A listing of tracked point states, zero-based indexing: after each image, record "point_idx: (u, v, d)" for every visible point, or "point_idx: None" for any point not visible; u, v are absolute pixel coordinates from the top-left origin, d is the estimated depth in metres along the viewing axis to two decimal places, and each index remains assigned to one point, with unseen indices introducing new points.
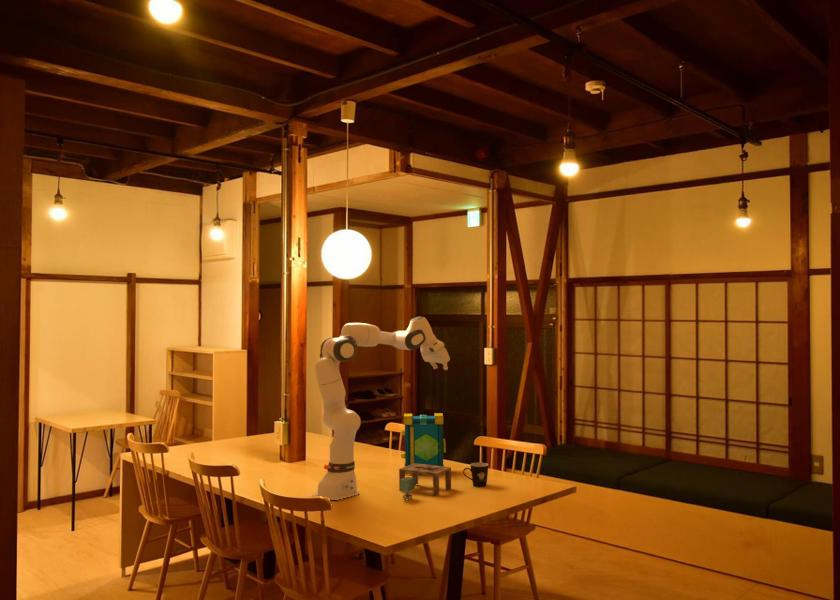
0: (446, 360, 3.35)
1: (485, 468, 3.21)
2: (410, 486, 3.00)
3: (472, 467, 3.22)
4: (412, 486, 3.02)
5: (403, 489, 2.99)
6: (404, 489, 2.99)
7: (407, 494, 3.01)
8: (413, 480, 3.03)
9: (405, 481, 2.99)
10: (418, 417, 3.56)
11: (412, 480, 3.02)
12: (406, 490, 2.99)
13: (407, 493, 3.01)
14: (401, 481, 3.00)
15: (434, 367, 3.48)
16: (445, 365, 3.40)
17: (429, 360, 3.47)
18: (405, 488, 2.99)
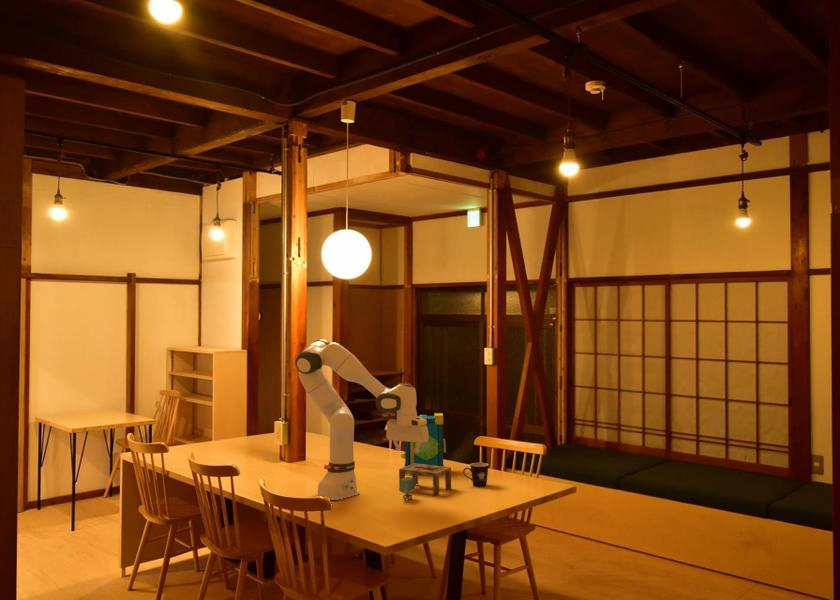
0: (425, 440, 2.97)
1: (485, 468, 3.21)
2: (410, 486, 3.00)
3: (472, 467, 3.22)
4: (412, 486, 3.02)
5: (403, 489, 2.99)
6: (404, 489, 2.99)
7: (407, 494, 3.01)
8: (413, 480, 3.03)
9: (405, 481, 2.99)
10: None
11: (412, 480, 3.02)
12: (406, 490, 2.99)
13: (407, 493, 3.01)
14: (401, 481, 3.00)
15: (397, 448, 3.04)
16: (418, 446, 2.99)
17: (397, 438, 3.03)
18: (405, 488, 2.99)
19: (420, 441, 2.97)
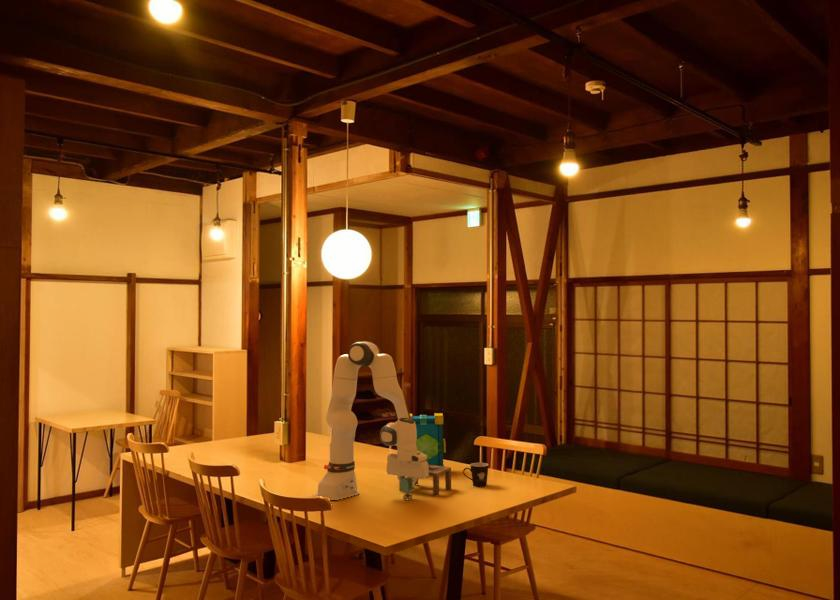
0: (426, 475, 2.96)
1: (485, 468, 3.21)
2: None
3: (472, 467, 3.22)
4: None
5: (403, 489, 2.99)
6: (404, 489, 2.99)
7: (407, 494, 3.01)
8: None
9: (405, 481, 2.99)
10: (418, 417, 3.56)
11: (412, 480, 3.02)
12: (406, 490, 2.99)
13: (407, 493, 3.01)
14: (401, 481, 3.00)
15: None
16: (414, 481, 3.00)
17: (397, 473, 3.03)
18: (405, 488, 2.99)
19: (420, 477, 2.97)
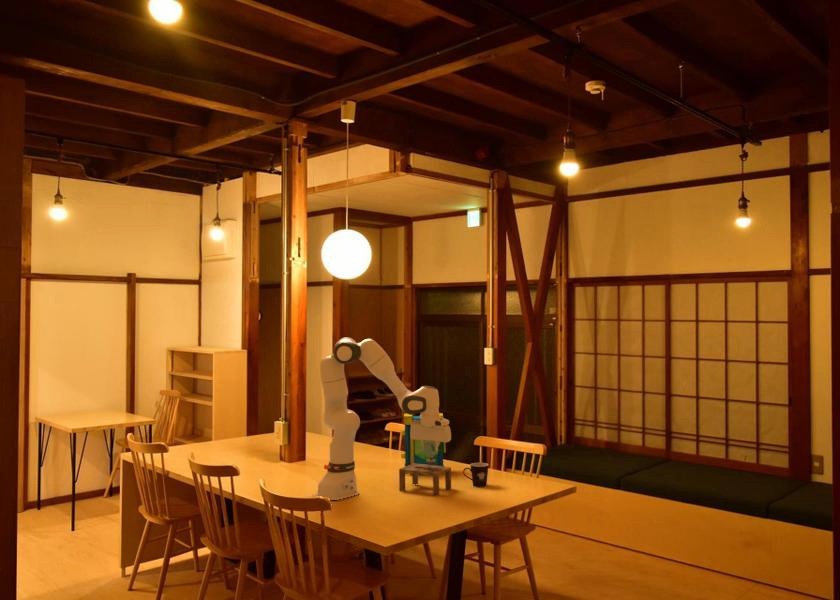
0: (448, 439, 3.11)
1: (485, 468, 3.21)
2: (433, 449, 3.15)
3: (472, 467, 3.22)
4: None
5: (427, 453, 3.14)
6: (428, 452, 3.14)
7: (430, 457, 3.16)
8: None
9: (429, 445, 3.14)
10: (418, 417, 3.56)
11: (435, 444, 3.17)
12: (430, 453, 3.14)
13: (430, 456, 3.16)
14: (425, 445, 3.15)
15: None
16: (437, 445, 3.15)
17: (420, 437, 3.17)
18: (429, 452, 3.14)
19: (443, 440, 3.12)
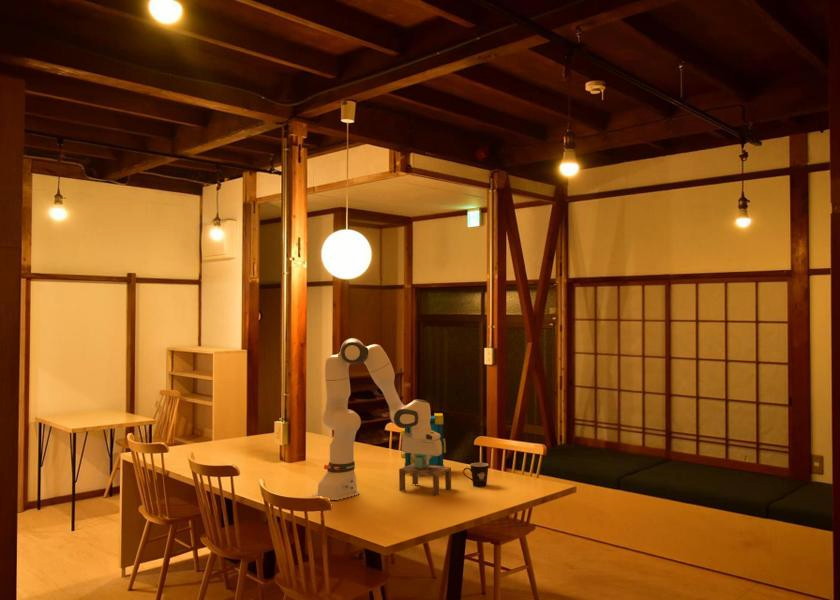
0: (439, 453, 3.13)
1: (485, 468, 3.21)
2: None
3: (472, 467, 3.22)
4: None
5: (417, 466, 3.16)
6: (418, 466, 3.16)
7: None
8: None
9: (419, 458, 3.16)
10: None
11: (426, 458, 3.19)
12: (420, 467, 3.16)
13: None
14: (416, 458, 3.17)
15: None
16: (428, 459, 3.17)
17: (412, 450, 3.20)
18: (419, 465, 3.16)
19: (434, 454, 3.14)
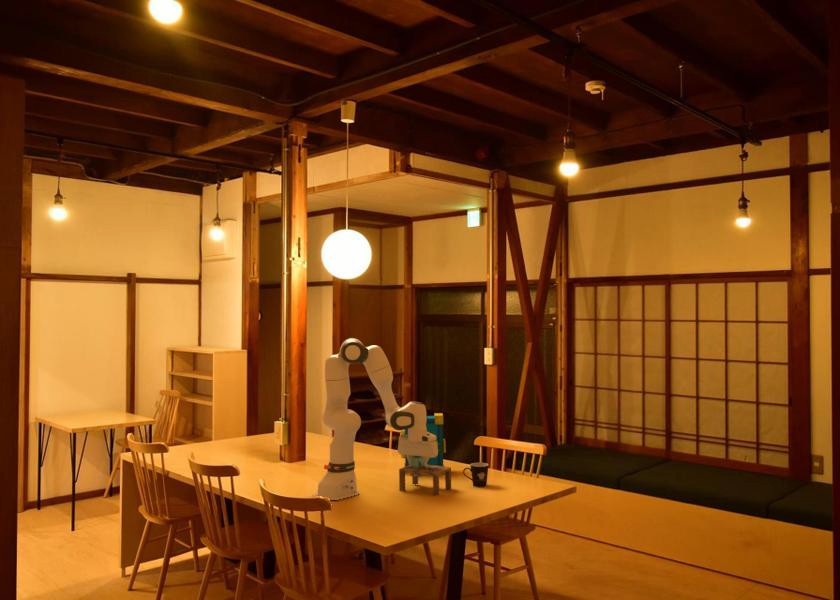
0: (435, 455, 3.15)
1: (485, 468, 3.21)
2: (420, 463, 3.18)
3: (472, 467, 3.22)
4: (422, 463, 3.20)
5: (414, 466, 3.18)
6: (415, 466, 3.17)
7: None
8: (423, 458, 3.21)
9: (416, 458, 3.17)
10: None
11: (422, 458, 3.20)
12: (417, 467, 3.17)
13: None
14: (412, 459, 3.18)
15: (410, 462, 3.21)
16: (426, 461, 3.18)
17: (408, 452, 3.21)
18: (416, 465, 3.17)
19: (430, 456, 3.15)
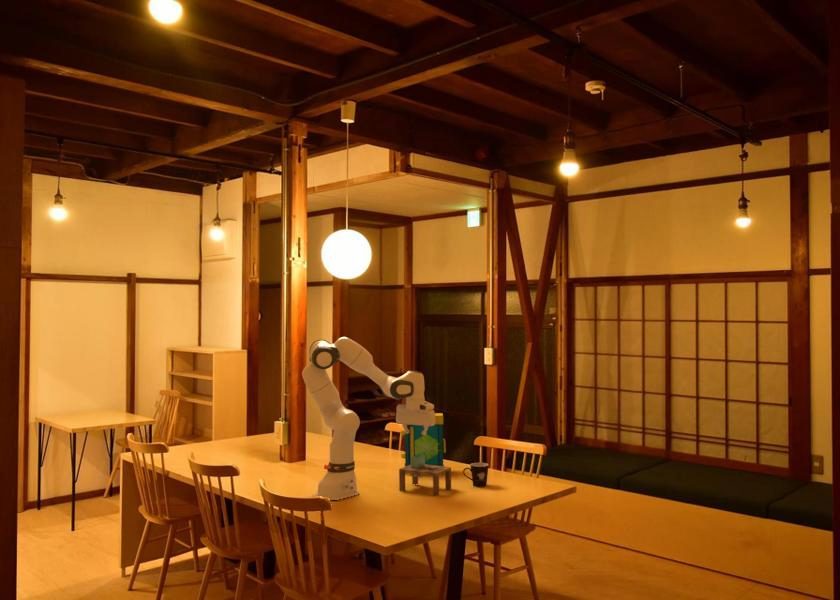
0: (433, 423, 3.16)
1: (485, 468, 3.21)
2: (420, 463, 3.18)
3: (472, 467, 3.22)
4: (422, 463, 3.20)
5: (414, 466, 3.18)
6: (415, 466, 3.17)
7: None
8: (423, 458, 3.21)
9: (416, 458, 3.17)
10: None
11: (422, 458, 3.20)
12: (417, 467, 3.17)
13: None
14: (412, 459, 3.18)
15: (406, 431, 3.23)
16: (426, 429, 3.19)
17: (406, 421, 3.22)
18: (416, 465, 3.17)
19: (428, 424, 3.16)
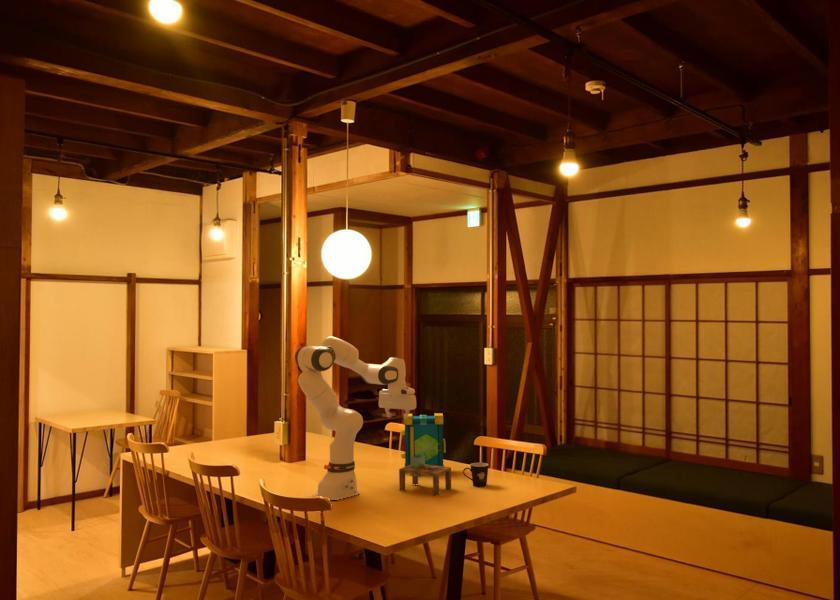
0: (413, 407, 3.30)
1: (485, 468, 3.21)
2: (420, 463, 3.18)
3: (472, 467, 3.22)
4: (422, 463, 3.20)
5: (414, 466, 3.18)
6: (415, 466, 3.17)
7: None
8: (423, 458, 3.21)
9: (416, 458, 3.17)
10: (418, 417, 3.56)
11: (422, 458, 3.20)
12: (417, 467, 3.17)
13: None
14: (412, 459, 3.18)
15: (389, 415, 3.37)
16: (407, 413, 3.32)
17: (388, 406, 3.36)
18: (416, 465, 3.17)
19: (409, 408, 3.30)
